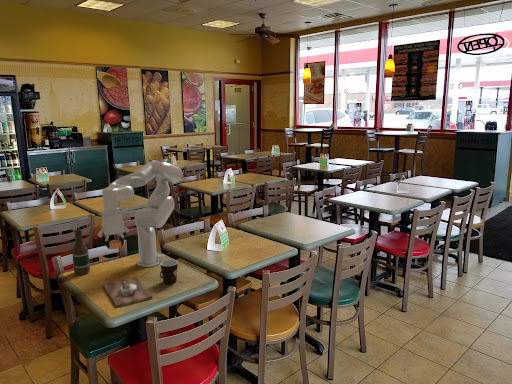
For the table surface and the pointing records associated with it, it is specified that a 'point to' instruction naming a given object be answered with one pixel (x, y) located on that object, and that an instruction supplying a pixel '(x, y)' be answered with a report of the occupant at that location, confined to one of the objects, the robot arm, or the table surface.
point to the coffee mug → (169, 271)
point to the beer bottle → (80, 255)
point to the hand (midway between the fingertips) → (114, 246)
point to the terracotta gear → (115, 244)
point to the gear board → (128, 299)
